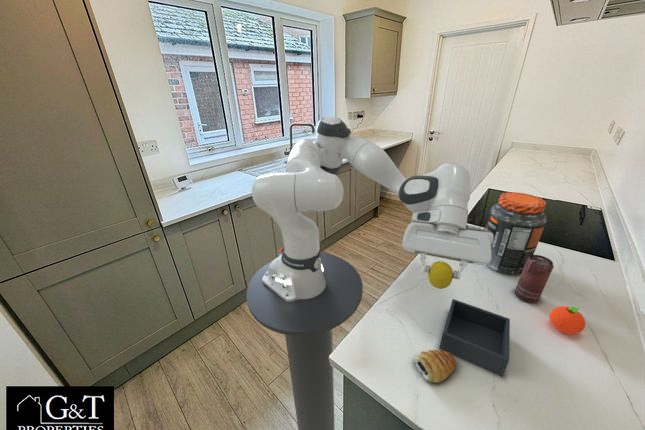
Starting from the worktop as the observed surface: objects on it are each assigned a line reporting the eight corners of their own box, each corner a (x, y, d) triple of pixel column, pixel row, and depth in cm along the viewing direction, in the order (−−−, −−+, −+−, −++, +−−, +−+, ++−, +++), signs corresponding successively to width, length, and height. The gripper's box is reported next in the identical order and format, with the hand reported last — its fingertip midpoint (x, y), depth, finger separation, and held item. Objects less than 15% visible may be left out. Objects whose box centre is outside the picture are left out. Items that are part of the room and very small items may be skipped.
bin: (439, 348, 67) (442, 333, 64) (449, 313, 77) (452, 298, 74) (502, 376, 60) (509, 360, 57) (504, 333, 70) (510, 318, 67)
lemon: (447, 281, 68) (452, 256, 64) (451, 296, 63) (458, 270, 60) (424, 279, 69) (429, 254, 66) (427, 293, 64) (432, 267, 61)
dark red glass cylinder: (508, 292, 83) (522, 256, 77) (523, 287, 85) (538, 252, 79) (527, 306, 78) (543, 268, 72) (543, 300, 80) (560, 263, 73)
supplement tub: (484, 246, 107) (502, 186, 95) (531, 262, 97) (557, 197, 85) (470, 263, 97) (488, 199, 86) (521, 283, 87) (548, 213, 75)
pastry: (442, 349, 66) (444, 339, 65) (463, 373, 61) (466, 363, 59) (411, 361, 64) (413, 351, 62) (430, 388, 58) (432, 378, 56)
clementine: (555, 314, 75) (565, 295, 72) (586, 331, 69) (598, 312, 66) (540, 325, 72) (549, 305, 69) (571, 344, 66) (582, 324, 63)
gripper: (490, 232, 66) (485, 287, 63) (407, 220, 74) (398, 268, 70) (498, 225, 61) (493, 284, 57) (407, 212, 68) (397, 264, 65)
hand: (440, 275), depth 64 cm, fingers closed on lemon, 5 cm apart
